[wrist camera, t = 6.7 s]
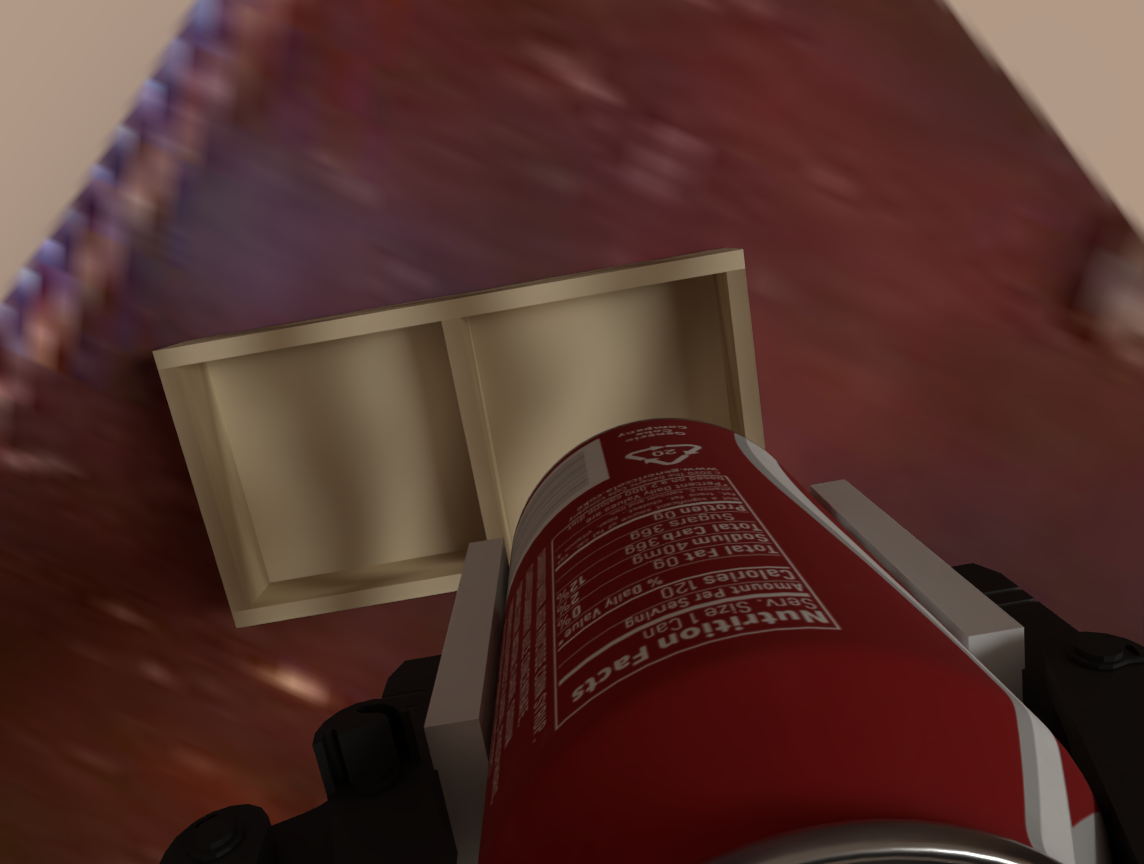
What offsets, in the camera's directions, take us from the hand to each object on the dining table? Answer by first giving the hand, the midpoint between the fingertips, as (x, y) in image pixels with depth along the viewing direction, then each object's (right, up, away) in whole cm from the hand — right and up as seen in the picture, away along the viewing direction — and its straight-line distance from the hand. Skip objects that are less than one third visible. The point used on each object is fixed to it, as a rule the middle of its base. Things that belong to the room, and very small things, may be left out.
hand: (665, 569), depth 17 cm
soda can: (0, 0, +1) cm, 1 cm away
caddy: (-6, +3, +16) cm, 17 cm away
